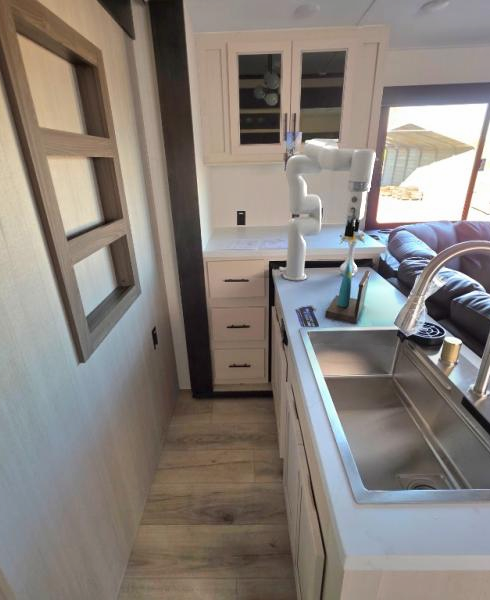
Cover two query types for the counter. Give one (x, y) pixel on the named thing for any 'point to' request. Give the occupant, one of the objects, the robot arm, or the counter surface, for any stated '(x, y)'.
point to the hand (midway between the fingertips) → (351, 233)
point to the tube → (345, 287)
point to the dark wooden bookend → (354, 308)
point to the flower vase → (351, 250)
